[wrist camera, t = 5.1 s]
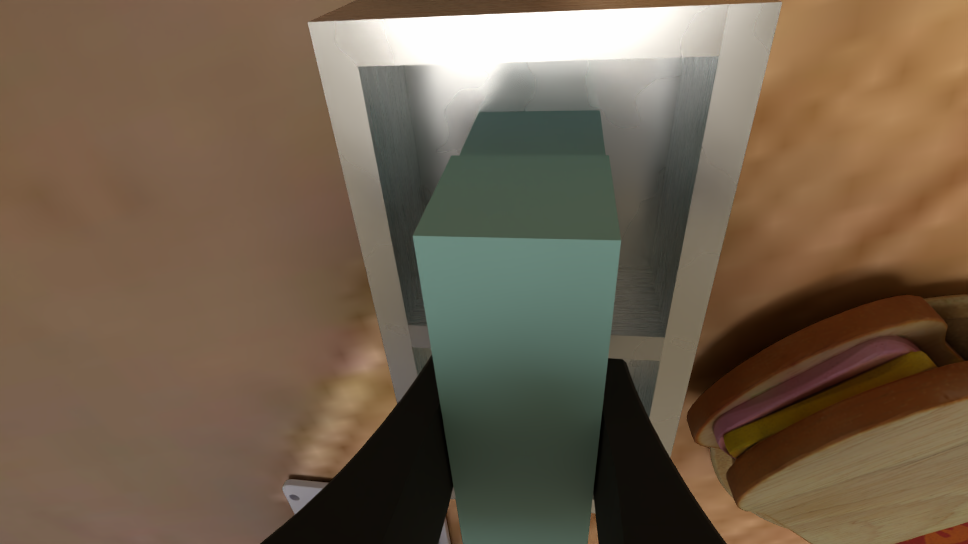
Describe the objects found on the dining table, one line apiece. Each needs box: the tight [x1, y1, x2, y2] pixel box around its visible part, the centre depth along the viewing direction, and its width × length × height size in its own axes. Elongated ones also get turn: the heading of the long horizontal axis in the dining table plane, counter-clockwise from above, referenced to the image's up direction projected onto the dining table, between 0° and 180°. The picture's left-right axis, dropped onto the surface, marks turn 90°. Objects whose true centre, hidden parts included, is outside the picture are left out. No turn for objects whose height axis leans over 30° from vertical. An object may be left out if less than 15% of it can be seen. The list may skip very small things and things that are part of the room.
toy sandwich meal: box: [687, 294, 968, 544], centre depth 16 cm, size 12×14×5 cm
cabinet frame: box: [308, 0, 782, 513], centre depth 15 cm, size 15×8×4 cm, turn 4°
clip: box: [413, 110, 621, 544], centre depth 13 cm, size 10×3×6 cm, turn 4°
